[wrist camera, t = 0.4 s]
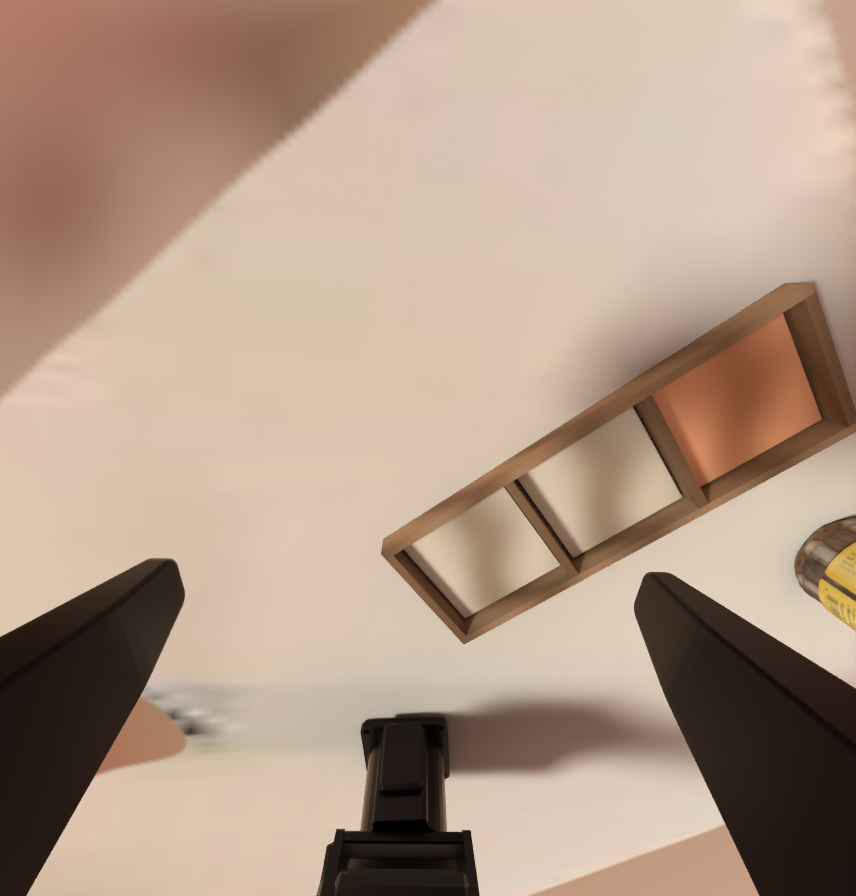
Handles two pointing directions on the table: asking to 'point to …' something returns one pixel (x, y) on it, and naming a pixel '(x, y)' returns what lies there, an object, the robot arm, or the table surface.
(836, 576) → the sauce bottle
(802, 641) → the table surface
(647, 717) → the table surface
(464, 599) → the brown compartment tray
